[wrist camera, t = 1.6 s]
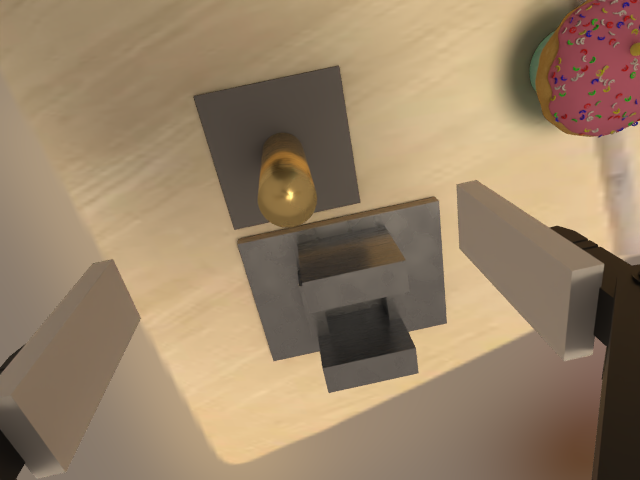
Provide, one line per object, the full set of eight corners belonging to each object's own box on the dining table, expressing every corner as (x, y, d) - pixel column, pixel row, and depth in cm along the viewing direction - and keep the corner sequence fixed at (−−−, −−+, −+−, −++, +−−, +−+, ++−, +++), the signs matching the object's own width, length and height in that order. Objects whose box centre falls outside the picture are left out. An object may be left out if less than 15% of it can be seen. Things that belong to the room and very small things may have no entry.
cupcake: (489, 37, 28) (622, 32, 18) (607, -32, 27) (827, -82, 16) (524, 145, 32) (652, 196, 21) (629, 88, 31) (821, 111, 20)
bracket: (238, 238, 33) (230, 284, 26) (434, 196, 33) (472, 232, 27) (273, 353, 38) (273, 415, 32) (442, 316, 38) (476, 370, 32)
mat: (194, 96, 28) (193, 96, 28) (338, 65, 28) (339, 65, 28) (234, 227, 32) (234, 229, 32) (359, 200, 32) (360, 202, 32)
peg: (257, 137, 29) (250, 178, 20) (299, 128, 29) (310, 165, 20) (267, 177, 30) (265, 232, 21) (307, 169, 31) (321, 220, 22)
